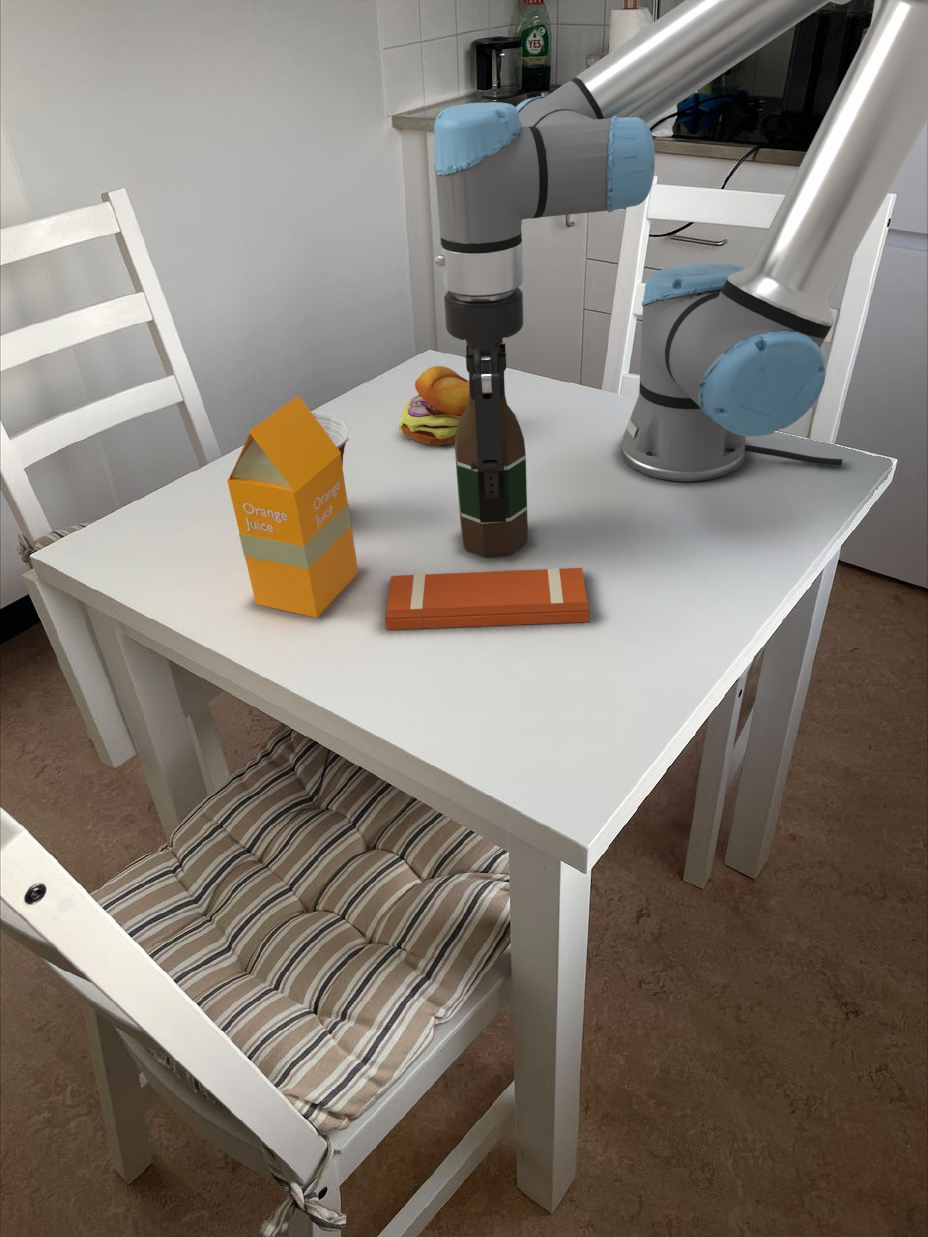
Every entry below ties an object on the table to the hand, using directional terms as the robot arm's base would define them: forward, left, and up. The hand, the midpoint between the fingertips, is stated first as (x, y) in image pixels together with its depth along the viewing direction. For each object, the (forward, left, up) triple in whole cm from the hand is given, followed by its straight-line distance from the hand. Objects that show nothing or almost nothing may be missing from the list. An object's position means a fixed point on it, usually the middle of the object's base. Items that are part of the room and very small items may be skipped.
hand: (492, 501), depth 103 cm
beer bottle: (0, 0, -5) cm, 5 cm away
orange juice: (+20, +8, -5) cm, 22 cm away
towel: (+1, +12, -5) cm, 13 cm away
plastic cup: (+21, -6, -5) cm, 22 cm away
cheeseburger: (+7, -29, -5) cm, 30 cm away
